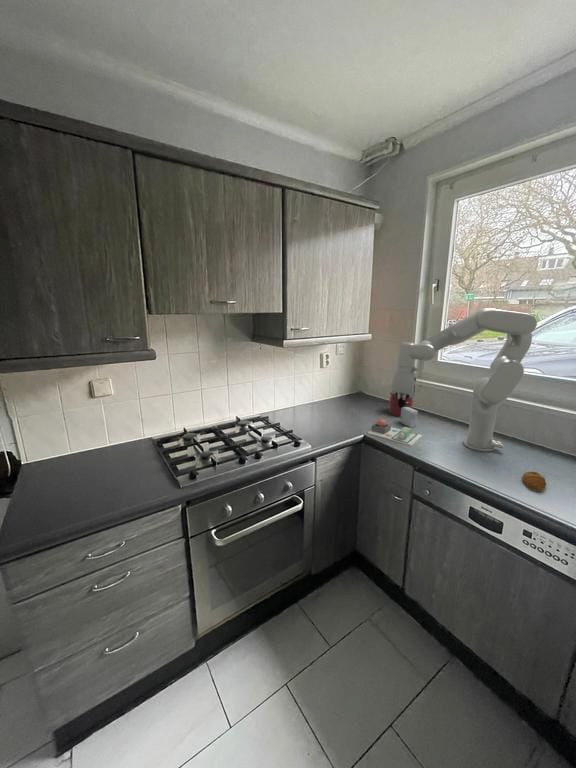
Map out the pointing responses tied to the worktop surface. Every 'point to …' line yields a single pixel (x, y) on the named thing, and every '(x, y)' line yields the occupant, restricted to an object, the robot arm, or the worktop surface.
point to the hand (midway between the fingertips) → (401, 406)
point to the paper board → (393, 434)
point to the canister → (394, 406)
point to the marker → (404, 433)
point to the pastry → (534, 481)
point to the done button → (381, 423)
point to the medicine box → (409, 416)
